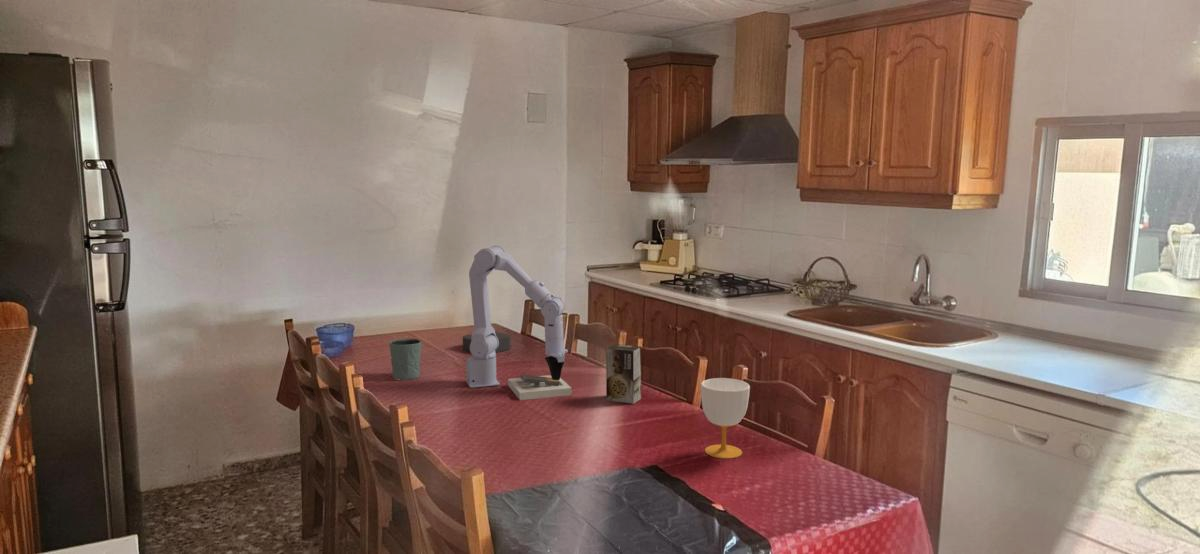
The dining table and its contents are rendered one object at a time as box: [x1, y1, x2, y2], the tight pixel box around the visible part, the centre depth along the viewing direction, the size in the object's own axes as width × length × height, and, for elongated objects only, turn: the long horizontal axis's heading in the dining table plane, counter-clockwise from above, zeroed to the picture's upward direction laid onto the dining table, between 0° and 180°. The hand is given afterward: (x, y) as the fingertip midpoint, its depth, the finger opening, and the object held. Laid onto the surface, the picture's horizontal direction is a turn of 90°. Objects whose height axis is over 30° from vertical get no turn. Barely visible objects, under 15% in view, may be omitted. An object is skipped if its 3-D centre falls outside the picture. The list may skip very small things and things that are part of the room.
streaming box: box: [462, 331, 511, 354], centre depth 296 cm, size 14×14×5 cm
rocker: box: [520, 374, 559, 386], centre depth 242 cm, size 11×5×1 cm, turn 109°
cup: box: [700, 377, 751, 460], centre depth 190 cm, size 12×12×17 cm
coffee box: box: [605, 343, 642, 405], centre depth 233 cm, size 9×6×16 cm
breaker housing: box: [507, 374, 573, 401], centre depth 242 cm, size 16×16×4 cm
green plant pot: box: [389, 338, 423, 381], centre depth 257 cm, size 10×10×12 cm
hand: (556, 379), depth 244 cm, fingers closed, pressing on rocker
